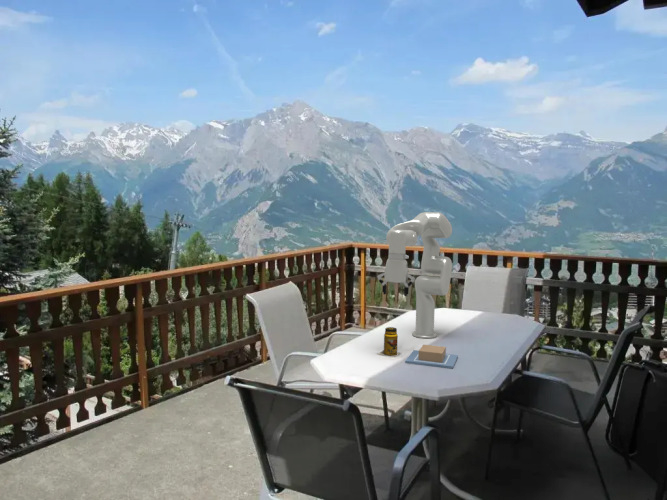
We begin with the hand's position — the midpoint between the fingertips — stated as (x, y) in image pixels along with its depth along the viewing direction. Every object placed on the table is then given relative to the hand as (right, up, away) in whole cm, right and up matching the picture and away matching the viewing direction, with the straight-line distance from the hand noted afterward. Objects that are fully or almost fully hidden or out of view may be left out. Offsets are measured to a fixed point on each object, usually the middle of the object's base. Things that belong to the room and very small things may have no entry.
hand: (395, 294), depth 230 cm
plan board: (+15, -28, -8) cm, 33 cm away
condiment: (-3, -27, +1) cm, 27 cm away
